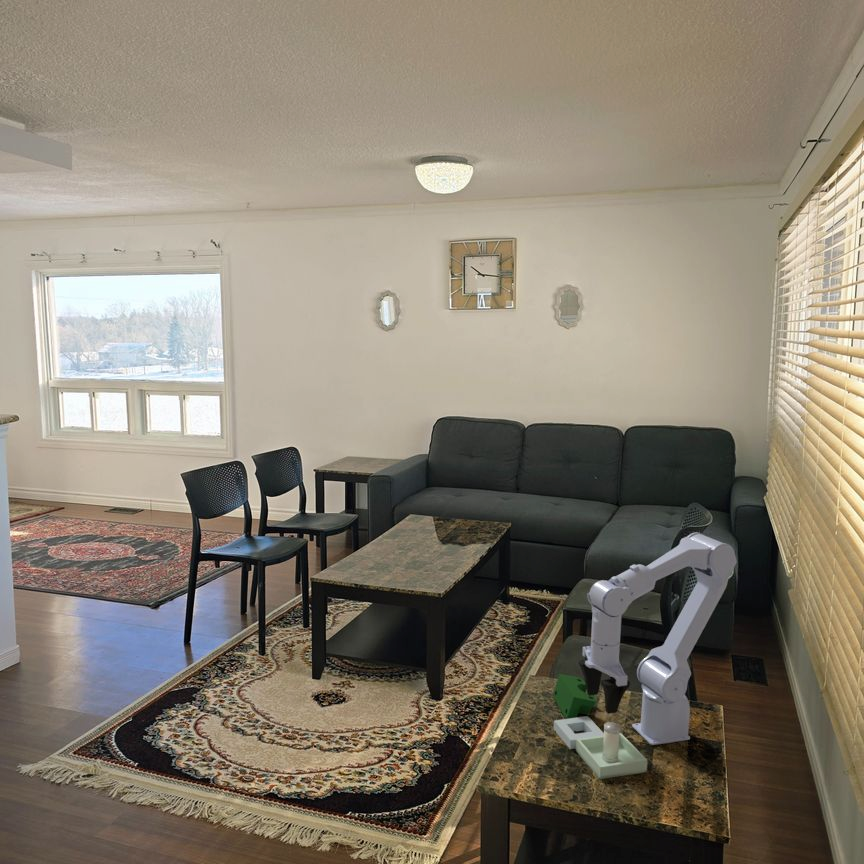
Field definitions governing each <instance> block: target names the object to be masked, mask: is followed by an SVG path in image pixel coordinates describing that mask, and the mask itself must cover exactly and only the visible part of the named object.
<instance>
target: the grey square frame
mask: <svg viewBox="0 0 864 864" xmlns="http://www.w3.org/2000/svg"><path fill="white" fill-rule="evenodd" d="M553 731H554V732H555V731H556V732H555V733H556V734H557V735H558V737H559V738H560V739H561V740H562V741H563V743H564V744H565V745H566V746H567V747H568V749H569V750H573V749H574V750H576V739H581V738H589V737H596V736H603V735H604V731H602V729H600V727H598V725H596V723H595V722H594V721H593V720H592V719H591V718H590V717H589V716H588V715H585V716H579V717H578V716H577V718H570V719H568V718H563V719H555V720H553ZM574 731H576V732H580V733H576V732H574Z"/></svg>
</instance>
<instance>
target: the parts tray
mask: <svg viewBox="0 0 864 864" xmlns="http://www.w3.org/2000/svg"><path fill="white" fill-rule="evenodd" d="M603 742H604V735H603V736H596V737H589V738H581V739H576V749H575V752H576V753H577V754H578V755H579V756H580V757H581V759H582V760H583V761H584V763H585V764H586V765H587V766H588V767H589V769H590V770H591V771H592V772H593V773H594V774H595V776H596V777H597V778H598V780H603V779H610V778H615V777H617V778H618V777H623V776H628V775H629V776H630V775H635V774H636V775H637V774H642V773H647V772H648V758H646V757H645V756H644V755H643V753H641V752H640V751H639V750H638V749H637V747H636V746H634V745H633V744H632V742H630V740H628V738H626V737H625V736H624V735H623V733H621V732H620V735H619V751H618V762H616V763H608V762H606V761H604V760H603V759H602V754H603Z"/></svg>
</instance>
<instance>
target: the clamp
mask: <svg viewBox="0 0 864 864" xmlns="http://www.w3.org/2000/svg"><path fill="white" fill-rule="evenodd" d="M555 682H556V683H555V686H554V688H553V689H554V690H553V692H552V693H553V699H554V701H555V703H556V705H557V707H558V708H559V710H560V712H561V713H562V715H563V716H564V719H570V718H577V717H578V715H579V714H582V715H586V714H589V715H590V713H591V709H592V708H595V707H596V706H597V703H598V698H597V697H596V695H590V696H589V695H588V694H587V689H586V684H585V679H582V678H580V677H578V676H577V677H576V676H572V675H566V674H563V673H558V677H557V679H556V681H555Z"/></svg>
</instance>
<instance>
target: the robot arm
mask: <svg viewBox="0 0 864 864" xmlns="http://www.w3.org/2000/svg"><path fill="white" fill-rule="evenodd" d="M737 562H738V561H737V556H736V552H735V549H734V548H733V546H731V545H730V544H728V543H725V542H722V541H719V540H717V539H714V538H711V537H710V536H706V535H704V534H702V533H701V532H697V531H696V532H692V533H690V534H689V535H687V536H685V537H683V538H681V539H680V541H679V544H678V545H677V546H675V547H674V548H672V549H670V550H668V551H667V552H666V553H665V554H663V555H662V556H660V557H658V558H657V559H655V560H654V561H652V562H651V563H649V564H648V565H646V566H645V565H643V564H640V563H639V564H635V563H634V564H632V565H630V566H629V569H627V570H625V571H623V572H621V573H620V574H618V575H616V576H615V575H614V576H612V577H611V578H609V580H604V579H602V580H598V581H596V582H595V583H594V584H592V586H591V588H590V590H589V592H587V594H586V596H587V600H588V602H589V603H590V605H591V613H592V615H591V616H592V619H591V631H590V632H591V636H590V645H588V646H582V652H581V653H582V656H583V657H584V659H580V660H578V665H579V667H580V669H581V672H582V675H583V680H584V681H585V684H586V693H587V694H588V695H589V696H590V695H594V696H596V695H599V692H600V684H601V687H602V688H603V689H602V690H603V693H604V708H605V712H606V713H607V714H615V713H617V711H618V710H619V707H620V704H621V701H622V698H623V697H624V694H625V693H626V691H628V689H629V687H631V682H630V680H628V675H627V674H626V673H625V672H624V669H623V667H622V665H621V661H620V647H621V630H622V616H623V614H624V613H626V611H627V609H628V607H629V606H630V605H631V604H632V602H633V601H635V600H636V599H638V598H640V597H641V596H644V595H645V594H648V593H649V592H650V591H652V590H654V589H655V587H656V586H655V585H656V582H657V581H658V580H661V579H663V578H666V577H667V576H670V575H672V574H674V573H676V572H678V571H680V570H683V569H684V568H687V567H688V568H689V567H690V568H692V570H693V572H694V574H695V577H696V581H697V582H696V584H695V585H694V587H693V589H692V591H691V593H690V595H689V597H688V599H687V600H686V602H685V604H684V606H683V607H682V609H681V612H680V613H679V615H678V617H677V618H676V621H675V622H674V624H673V626H672V627H671V630H670V632H669V633H668V635H667V636H666V639H665V641H664V643H663V644H662V645H661V646H657V647H655V648H651V650H650V651H649V653H648V654H647V656H646V657H645V658H643V659H642V660H641V661H640V663H639V664H638V666H637V669H636V677H637V679H638V681H639V682H640V683H641V689H642V699H641V700H642V701H641V713H640V714H641V715H640V722H637V723H632V724H631V726H632V728H633V729H634V730H635V731H636V732H637V733H638V734H639V735H640V736H641V737H642V738H643V739H644V740H645V741H646V742H647V743H648V744H649V745H651V746H657V745H662V744H663V745H664V744H669V743H675V742H683V741H688V740H689V741H690V739H691V736H690V735H689V728H690V713H691V706H690V702H689V699H688V697H687V696H686V692H687V689H688V683H689V680H690V677H691V676H692V672H691V671H692V670H691V668H690V665H689V662H688V659H689V657H690V655H691V653H692V651H693V650H694V647H695V645H696V644H697V642H698V640H699V638H700V637H701V634H702V633H703V630H704V629H705V627H706V625H707V623H708V622H709V620H710V618H711V616H712V615H713V612H714V611H715V609H716V607H717V605H718V604H719V601H720V599H721V598H722V596H723V594H724V592H725V590H726V589H727V586H728V582H729V578H730V576H731V573H732V572H733V570H735V567H736V564H737ZM667 664H668V665H667ZM603 674H606V675H608V676H609V678H607V679H602V675H603Z"/></svg>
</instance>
